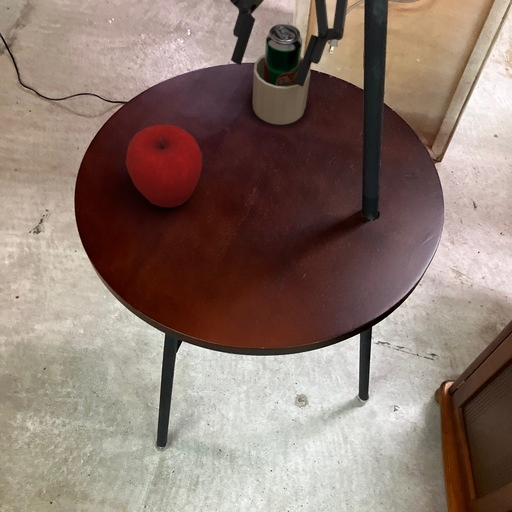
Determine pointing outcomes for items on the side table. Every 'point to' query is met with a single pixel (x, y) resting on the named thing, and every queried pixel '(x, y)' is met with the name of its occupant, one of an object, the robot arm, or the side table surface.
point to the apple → (164, 164)
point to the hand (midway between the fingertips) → (267, 73)
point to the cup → (278, 98)
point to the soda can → (282, 55)
